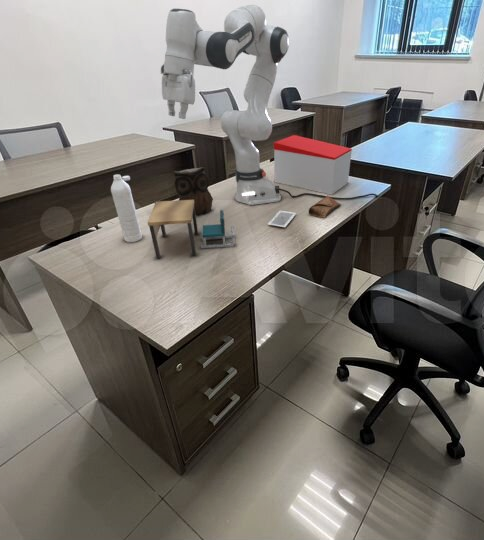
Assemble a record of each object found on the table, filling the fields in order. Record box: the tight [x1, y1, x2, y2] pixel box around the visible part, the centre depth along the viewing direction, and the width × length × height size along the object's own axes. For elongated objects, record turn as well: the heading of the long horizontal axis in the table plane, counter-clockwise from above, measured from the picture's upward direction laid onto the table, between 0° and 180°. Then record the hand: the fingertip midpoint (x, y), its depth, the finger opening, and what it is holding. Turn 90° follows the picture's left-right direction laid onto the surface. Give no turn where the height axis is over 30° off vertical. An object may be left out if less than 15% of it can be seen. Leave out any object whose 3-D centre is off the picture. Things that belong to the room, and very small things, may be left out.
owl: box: [173, 166, 214, 217], centre depth 148 cm, size 13×13×20 cm
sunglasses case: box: [308, 194, 342, 219], centre depth 156 cm, size 18×7×7 cm
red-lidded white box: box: [273, 134, 353, 195], centre depth 182 cm, size 21×35×21 cm, turn 58°
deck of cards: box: [267, 210, 297, 228], centre depth 146 cm, size 8×15×2 cm, turn 160°
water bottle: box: [110, 173, 143, 243], centre depth 126 cm, size 9×6×25 cm
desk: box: [147, 199, 199, 260], centre depth 125 cm, size 14×18×14 cm
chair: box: [200, 209, 236, 249], centre depth 127 cm, size 12×8×12 cm, turn 99°
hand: (176, 117), depth 113 cm, fingers open, 8 cm apart
